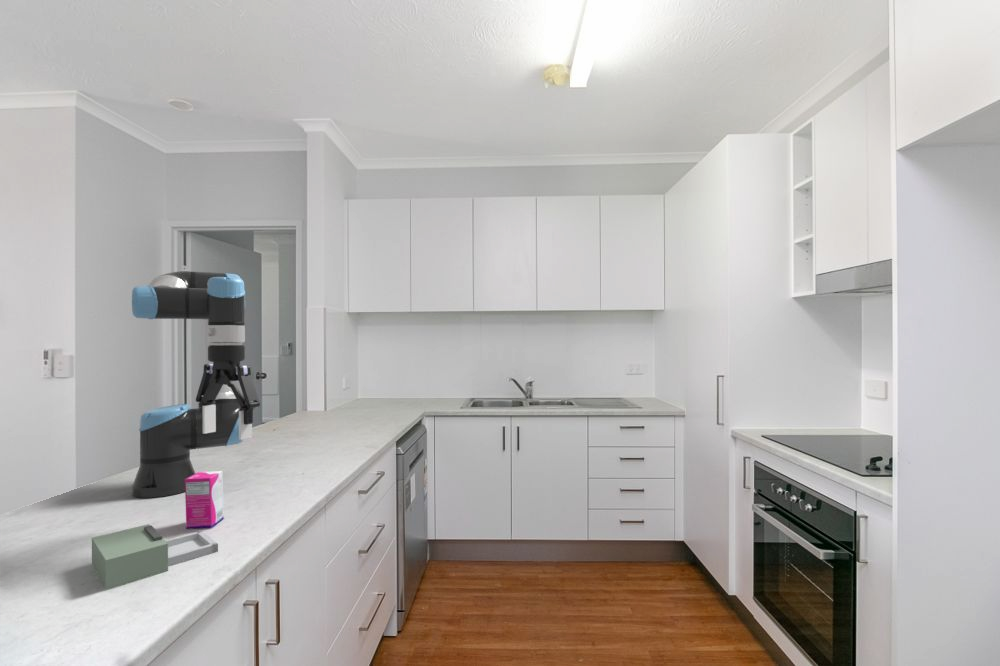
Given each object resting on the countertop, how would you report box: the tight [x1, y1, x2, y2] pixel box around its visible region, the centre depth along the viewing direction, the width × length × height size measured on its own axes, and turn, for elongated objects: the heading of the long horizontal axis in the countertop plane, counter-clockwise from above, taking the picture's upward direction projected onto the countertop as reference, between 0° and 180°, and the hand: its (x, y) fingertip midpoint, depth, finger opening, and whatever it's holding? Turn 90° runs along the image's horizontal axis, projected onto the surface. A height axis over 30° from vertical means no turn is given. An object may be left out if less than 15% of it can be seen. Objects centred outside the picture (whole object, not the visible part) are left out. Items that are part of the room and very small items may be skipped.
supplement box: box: [184, 470, 225, 530], centre depth 112 cm, size 6×6×12 cm
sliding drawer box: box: [91, 523, 219, 590], centre depth 95 cm, size 14×18×6 cm
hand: (226, 435), depth 113 cm, fingers open, 13 cm apart
